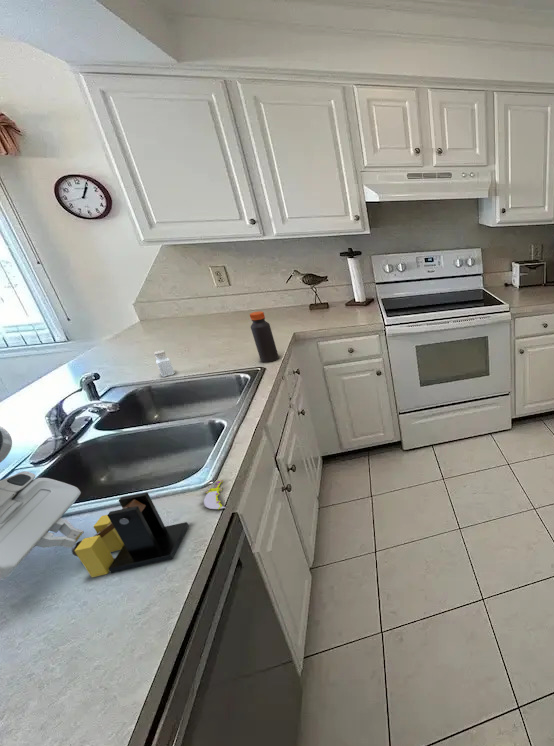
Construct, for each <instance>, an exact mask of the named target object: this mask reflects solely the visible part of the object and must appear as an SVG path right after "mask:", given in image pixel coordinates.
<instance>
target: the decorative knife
mask: <svg viewBox="0 0 554 746" xmlns="http://www.w3.org/2000/svg"><path fill="white" fill-rule="evenodd" d="M223 482H224V480H223V479H218V480H216V481H215V482H214V484H215V485H214V487H212V488H208V489H207V490H206V491H205V497H204V499H203V505H204V506H205V507H206V508H207V509H210V510H222V509H226V508H227V507H226V506H223V504H222V503H221V500H219V497H218V496H220V495H221V494H220V492H223V487H222V486H221V484H222V483H223ZM220 486H221V487H220Z"/></svg>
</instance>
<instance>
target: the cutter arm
mask: <svg viewBox="0 0 554 746" xmlns="http://www.w3.org/2000/svg"><path fill="white" fill-rule="evenodd" d="M136 506H138V507H139V509H140V511H141V512H142V511H143V509H144V508H145V506H146V505H144V504H142V503H141V502H139V501H137V500H135V499H134V500H132V501H131V502H130V503H128V504H127V505H126V506H125V507H123V508H122V507H121V509H126V508H131V507H136ZM113 529H114V526H113V524H112V522H111V523H110V524H108V525H107V526H106V527H104V528H103V529H102V530H101V531H99V532H98V533H97V532H96V533H95V534H93V536H98V535H100V536H101V538H102V537H104V536H105V535H106V534H107V533H109V532H110V531H111V530H113ZM82 540H83V539H82ZM82 540H78V541H77V542H76V543H75V544H74V546H73V547H72V548H71V554H72V555H73V556H75V557H78V556H77V554H76V553H75V551H74V550H75V549H76V548H77V547H78V545H79V544H80V543H81V542H82ZM78 558H79V557H78Z"/></svg>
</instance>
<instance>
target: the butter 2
mask: <svg viewBox="0 0 554 746" xmlns="http://www.w3.org/2000/svg"><path fill="white" fill-rule="evenodd" d="M74 551H75V553H76V554H77V556H78V560H80V562H81V563H82V565H83V566H84V568H85V569H86V571H87V573H88V574H89V575H90V577H91V578H96V577H100V576H105V575H108V574H109V572H110V570H109V567H110V566H111V564H112V563H113V561H114V560H115V558H114V556H113V554H112V552H110V551H109V549H108V548H107V546H106V545H105V543H104V541H103V540H102V538H101V536H100V535H98V536H94V535H93V536H89V537H85V538H83V539H82V542H81V543H80V544H79V545H78V547H77V548H76V549H75V550H74ZM77 556H76V557H77Z"/></svg>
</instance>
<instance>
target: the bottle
mask: <svg viewBox="0 0 554 746" xmlns="http://www.w3.org/2000/svg"><path fill="white" fill-rule="evenodd" d="M249 317H250V320H251V322H252V324H251V325H250V330H251V334H252V337H253V339H254V343H255V346H256V351H257V354H258V357H259V360H260V362H262V363H271V362H272V363H273V362H275V361H277V360H279V357H280V356H279V353H278V349H277V346H276V342H275V338H274V334H273V332H272V331H273V330H272V327H271V325H270V323H269V322H268V321H266V316H265V313H264V311H259V310H258V311H253V312H250V313H249Z"/></svg>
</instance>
